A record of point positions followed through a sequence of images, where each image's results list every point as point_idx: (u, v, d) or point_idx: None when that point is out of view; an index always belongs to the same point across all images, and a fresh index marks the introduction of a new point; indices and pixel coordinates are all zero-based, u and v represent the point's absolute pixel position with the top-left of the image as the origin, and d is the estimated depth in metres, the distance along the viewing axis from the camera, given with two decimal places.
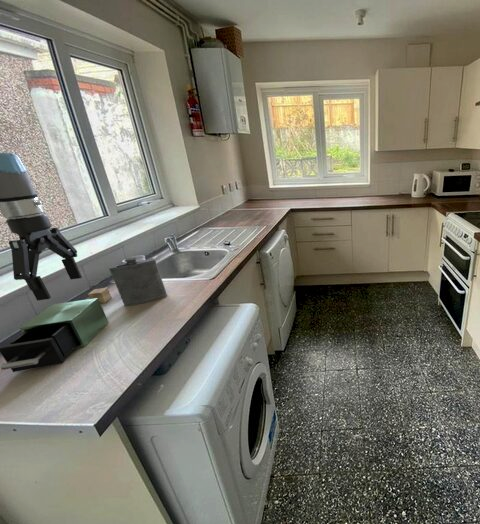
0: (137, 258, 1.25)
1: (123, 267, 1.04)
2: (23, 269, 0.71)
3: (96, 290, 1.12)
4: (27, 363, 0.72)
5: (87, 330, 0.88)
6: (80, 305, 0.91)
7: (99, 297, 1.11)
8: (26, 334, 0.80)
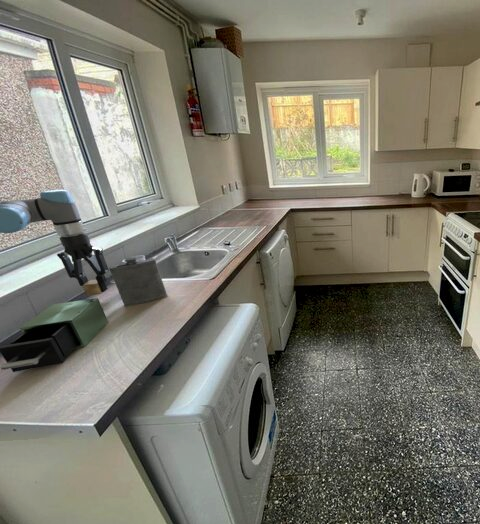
0: (137, 258, 1.26)
1: (123, 267, 1.04)
2: (106, 266, 1.10)
3: (91, 281, 1.10)
4: (27, 363, 0.72)
5: (87, 330, 0.88)
6: (80, 305, 0.91)
7: (94, 288, 1.09)
8: (26, 334, 0.80)
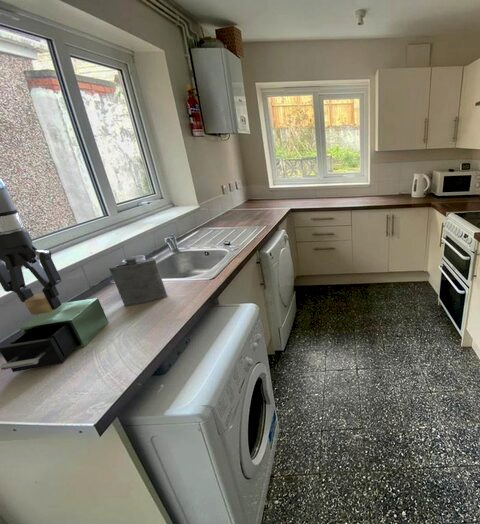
0: (137, 258, 1.25)
1: (123, 267, 1.04)
2: (58, 274, 0.82)
3: (38, 296, 0.82)
4: (27, 363, 0.72)
5: (87, 330, 0.88)
6: (80, 305, 0.91)
7: (41, 305, 0.81)
8: (26, 334, 0.80)
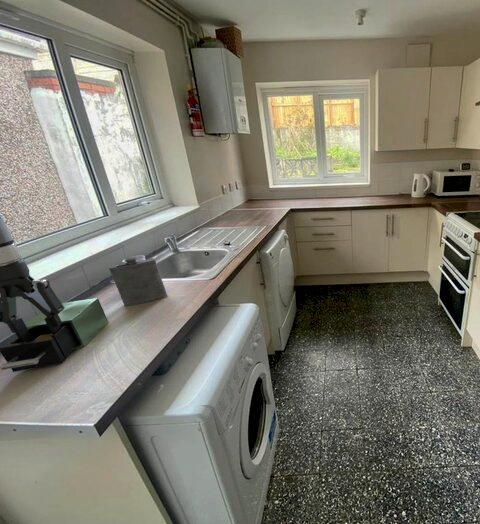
0: (137, 258, 1.25)
1: (123, 267, 1.04)
2: (59, 303, 0.79)
3: (42, 338, 0.80)
4: (27, 363, 0.72)
5: (87, 330, 0.88)
6: (80, 305, 0.91)
7: None
8: None
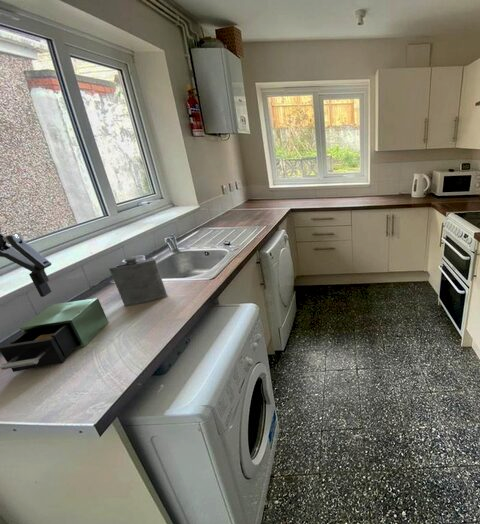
0: (137, 258, 1.26)
1: (123, 267, 1.04)
2: (43, 257, 0.73)
3: (42, 338, 0.80)
4: (27, 363, 0.72)
5: (87, 330, 0.88)
6: (80, 305, 0.91)
7: None
8: (26, 334, 0.80)
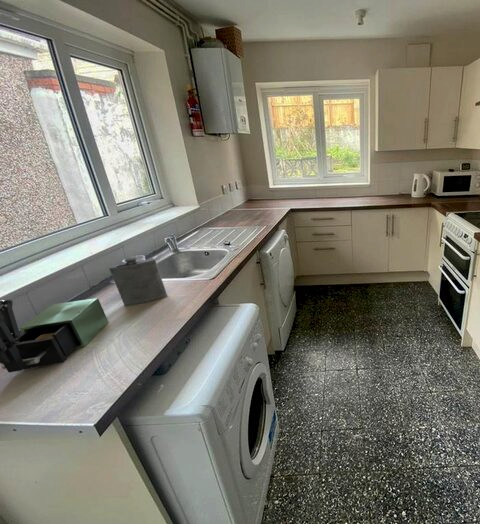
0: (137, 258, 1.26)
1: (123, 267, 1.04)
2: None
3: (42, 337, 0.81)
4: (28, 362, 0.72)
5: (87, 330, 0.88)
6: (80, 305, 0.91)
7: None
8: (27, 333, 0.80)
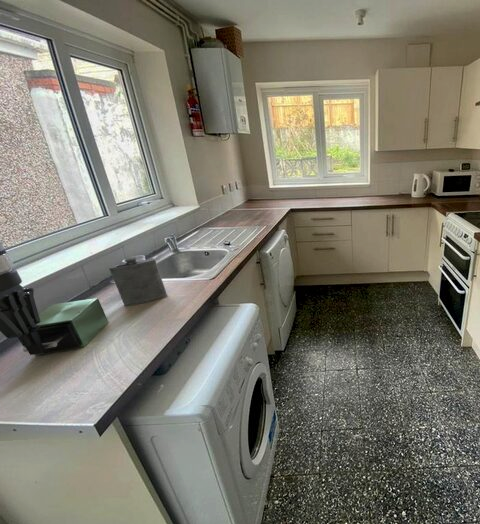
0: (137, 258, 1.25)
1: (123, 267, 1.04)
2: None
3: (59, 324, 0.87)
4: (47, 346, 0.78)
5: (87, 330, 0.88)
6: (80, 305, 0.91)
7: None
8: None
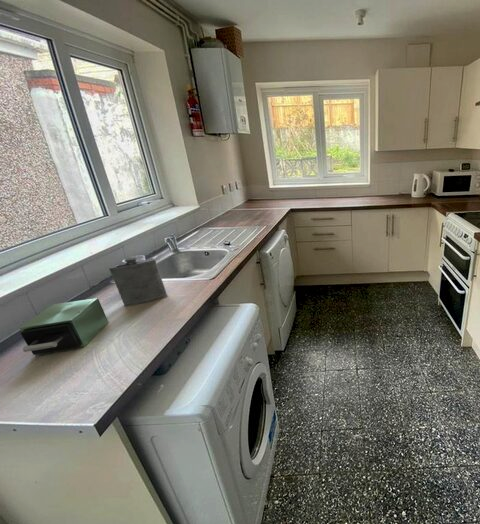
0: (137, 258, 1.26)
1: (123, 267, 1.04)
2: None
3: (59, 324, 0.87)
4: (47, 346, 0.78)
5: (87, 330, 0.88)
6: (80, 305, 0.91)
7: None
8: None
